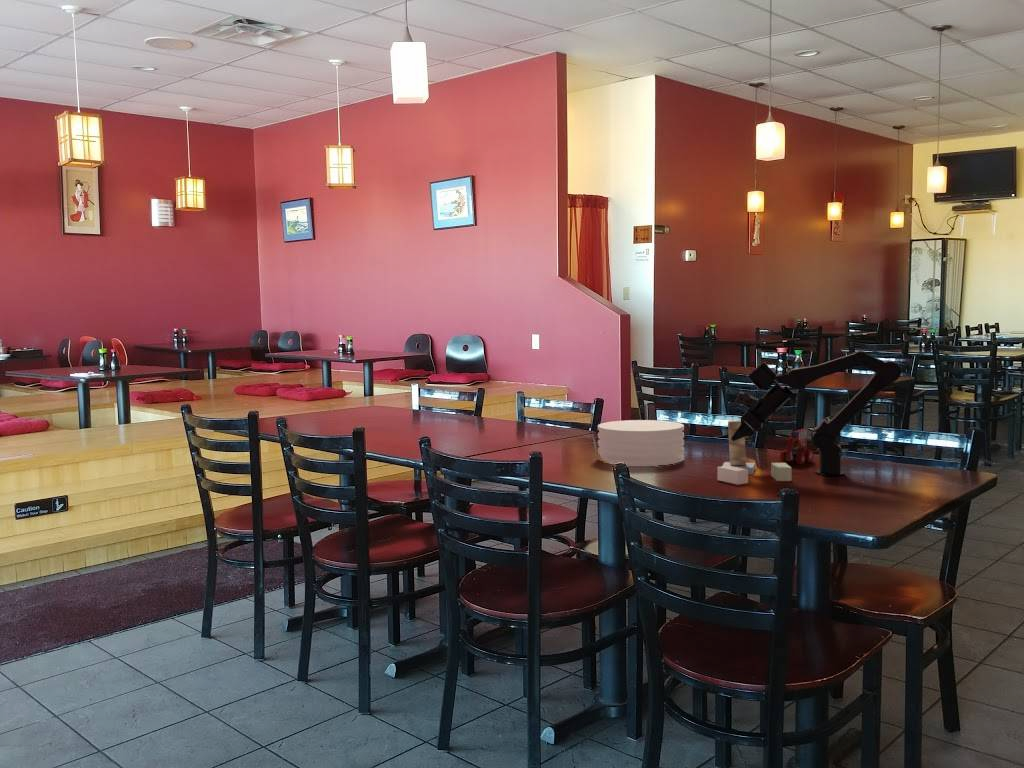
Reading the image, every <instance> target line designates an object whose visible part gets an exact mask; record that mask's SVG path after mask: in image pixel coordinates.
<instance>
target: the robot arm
mask: <svg viewBox="0 0 1024 768" xmlns="http://www.w3.org/2000/svg"><path fill="white" fill-rule="evenodd" d="M858 366H862V367H864V368H866V369H868V370H870V371H872V372H873V374H872V375H871V377H870V379H869V380H868V382H867V383H866V384H865V385H864V386H862V388H861V389H860V390H859V391H858V392H857V393H856V394H855V395H854V396H853V397H852V398H851V399H850V401H848V402H847V403H846V404H845V406H844V407H842V408H841V410H839V412H838V413H836V415H835V416H833V417H832V418H831V419H829V420H828V421H827V420H826V419H825V418H823V419H822V420H821V421H820V423H819V424H818V425H817V426H815V427H814V428H813V433H812V444H813V445H814V447H816V448H817V449H819V467H818V468H819V469H818V470H814V473H815V474H818V475H820V474H821V475H820V476H823V475H824V477H829V476H828V475H837V476H844V475H843V474H845V475H846V473H845V472H843V471H841V462H842V461H841V456H842V455H841V452H842V448H841V443H839V442H838V441H837V438H838V437H839V435H840V434H841V432H842V430H843V429H844V427H846V425H847V424H848V423H849V422H851V420H853V418H854V417H855V416H856V415H857V414H858V413H859V412H861V410H863V409H864V407H866V405H867V404H868V403H870V401H871V400H872V399H873V398H874V397H875V396H876V395H877V394H878V393H880V392H881V391H883V390H884V389H886V388H888V387H889V386H891V385H892V384H893V383H895V382H896V381H897V380H899V379H900V378H901V375H902V369H901V366H900V365H899V364H898V363H897V362H895V361H893V360H882V359H880V358H877V357H875V356H872V355H870V354H869V353H867V352H865V351H862V350H857V351H855V352H854V353H850V354H848V355H844V356H841V357H838V358H835V359H832V360H829V361H826V362H822V363H820V364H817V365H810V366H802V367H795V368H791V369H790V370H789V371H788V372H784V373H781V372H780V373H778V374H777V373H776V372H775V371H774V370H773V369H772V368H770V366H769V365H768V364H767V363H766V361H763V362H761V364H760V365H759V366H757V368H754V369H753V370H752V372H750V374H749V375H748V376H746V377H747V379H748V380H749V381H750V382H751V383H752V384H753V385H754V386H755V387H756V388H757V389H758V390H759V391H762V390H765V391H766V393H765V394H763V396H760V397H759V398H757V397H754V396H753V395H751V393H749V392H747V391H746V392H744V391H742V390H741V391H739V393H738V395H737V396H736V398H735V401H734V402H735V403H737V404H739V405H743V406H745V407H747V409H746V410H745V411H744V414H742V415H741V417H740V420H741V425H740V427H739V428H738V429H737V431H736V432H735V433H734V435H733V436H732V438H731V439H732V440H733V441H735V440H738V439H740V438H743V437H745V438H746V437H747V436H750V435H752V434H753V435H754V434H757V433H758V432H759V431H760V430H761V429H762V428H763V424H765V423H766V421H767V420H768V419H769V418H771V416H773V415H775V414H776V412H777V411H778V410H779V409H780V408H781V407H782V406H783V405H784V404H785V403H787V401H789V399H790V400H791V401H792V402H794V403H796V402H797V395H798V391H794V392H793V390H800V389H802V388H804V387H806V386H807V385H809V384H811V383H813V382H815V381H817V380H818V379H821V378H823V377H826V376H831V375H834V374H836V373H839V372H843V371H845V370H849V369H853V368H855V367H858ZM774 384H775V385H774ZM781 384H784V386H783V385H781ZM772 385H774V386H772ZM771 386H772V387H771ZM770 387H771V388H770ZM769 388H770V389H769ZM790 388H791V389H793V390H791V389H790ZM768 389H769V390H768ZM767 390H768V391H767Z"/></svg>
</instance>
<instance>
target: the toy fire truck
mask: <svg viewBox="0 0 1024 768" xmlns="http://www.w3.org/2000/svg"><path fill="white" fill-rule="evenodd" d="M808 433H809V432H808V429H807V428H802V429H798V430H793V431H791V432H790V437H788V440H787V445H786V449H783V450H781V452H780V454H779V455H780V456H779V460H780V463H786V464H788V462H793V463H795V462H796V464H797V465H799V464H803V465H804V464H805V463H808V462H810V463H812V461H813V458H814V453H813V450H811V449H808V448H807V447H808V445H807V444H808V435H809V434H808Z"/></svg>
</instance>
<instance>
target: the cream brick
mask: <svg viewBox="0 0 1024 768" xmlns="http://www.w3.org/2000/svg"><path fill="white" fill-rule="evenodd" d="M716 468H717V481H721V482H723V483H729V484H734V485H737V486H738V485H743V484H748V483H749V474H748V469H743V468H738V467H733V466H717V467H716Z"/></svg>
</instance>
